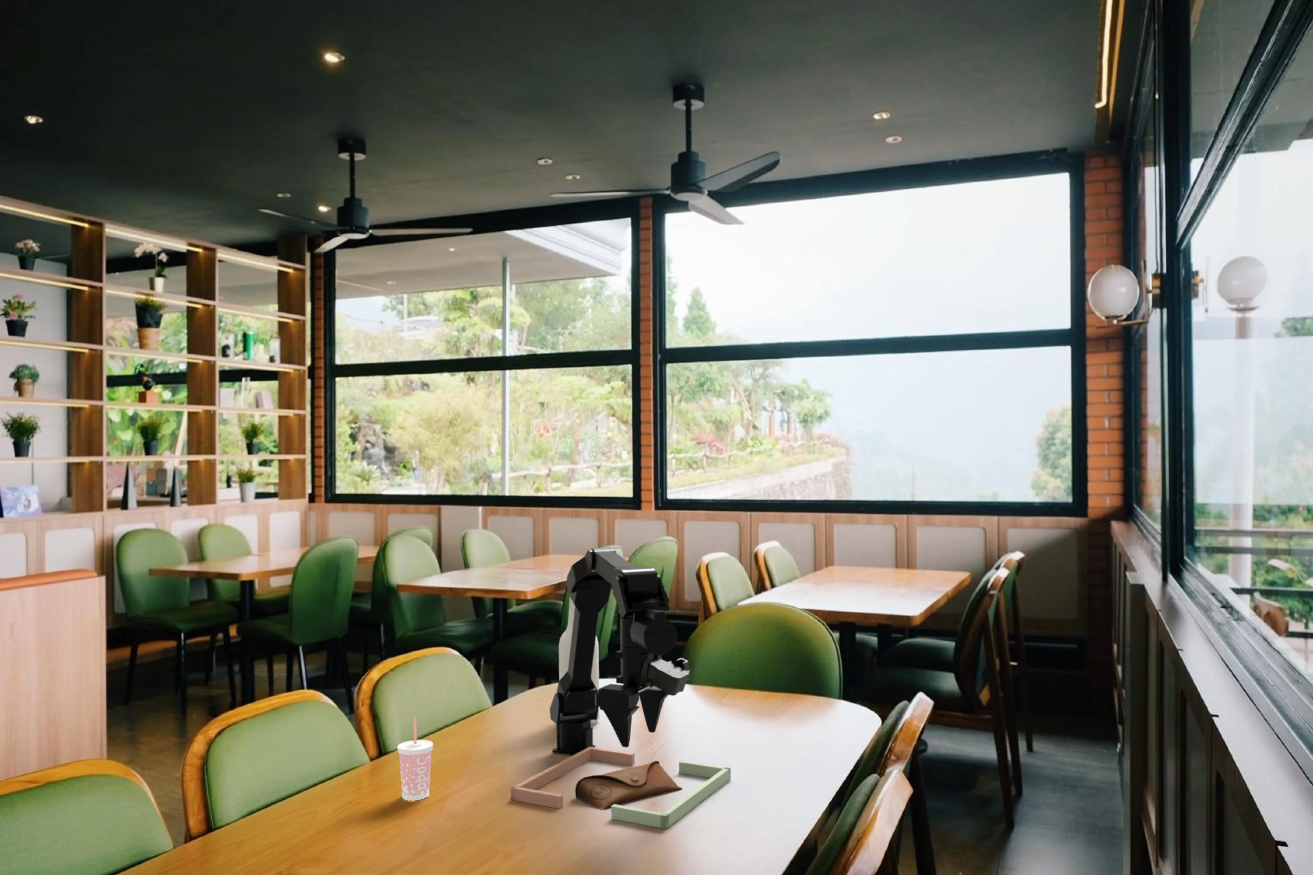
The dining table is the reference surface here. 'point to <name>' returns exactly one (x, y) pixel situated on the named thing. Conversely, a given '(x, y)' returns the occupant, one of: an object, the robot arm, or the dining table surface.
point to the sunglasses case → (624, 786)
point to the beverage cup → (415, 767)
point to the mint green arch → (674, 813)
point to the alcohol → (565, 653)
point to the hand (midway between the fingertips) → (639, 739)
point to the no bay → (528, 787)
